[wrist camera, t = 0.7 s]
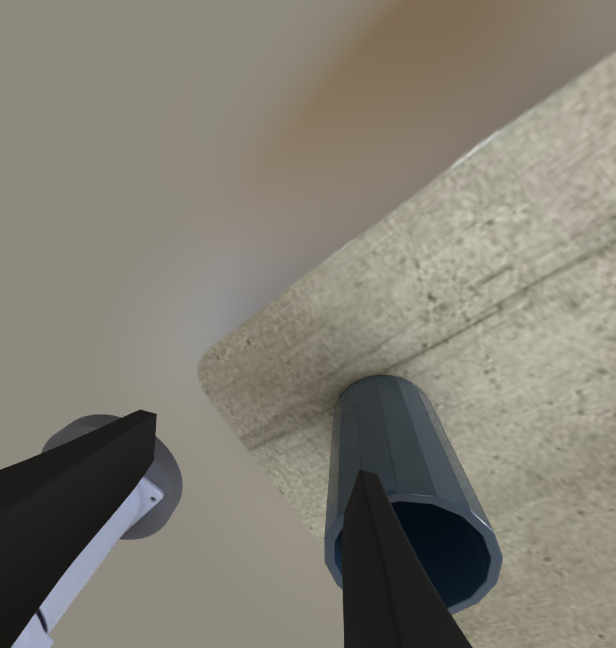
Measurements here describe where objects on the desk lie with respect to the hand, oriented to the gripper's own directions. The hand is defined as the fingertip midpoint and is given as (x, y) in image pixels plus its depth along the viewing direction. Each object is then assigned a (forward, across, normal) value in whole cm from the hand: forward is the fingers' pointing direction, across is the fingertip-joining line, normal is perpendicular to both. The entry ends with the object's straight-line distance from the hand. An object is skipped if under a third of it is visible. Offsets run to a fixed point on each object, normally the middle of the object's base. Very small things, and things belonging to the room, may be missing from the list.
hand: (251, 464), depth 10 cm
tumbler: (+9, -6, +3) cm, 12 cm away
